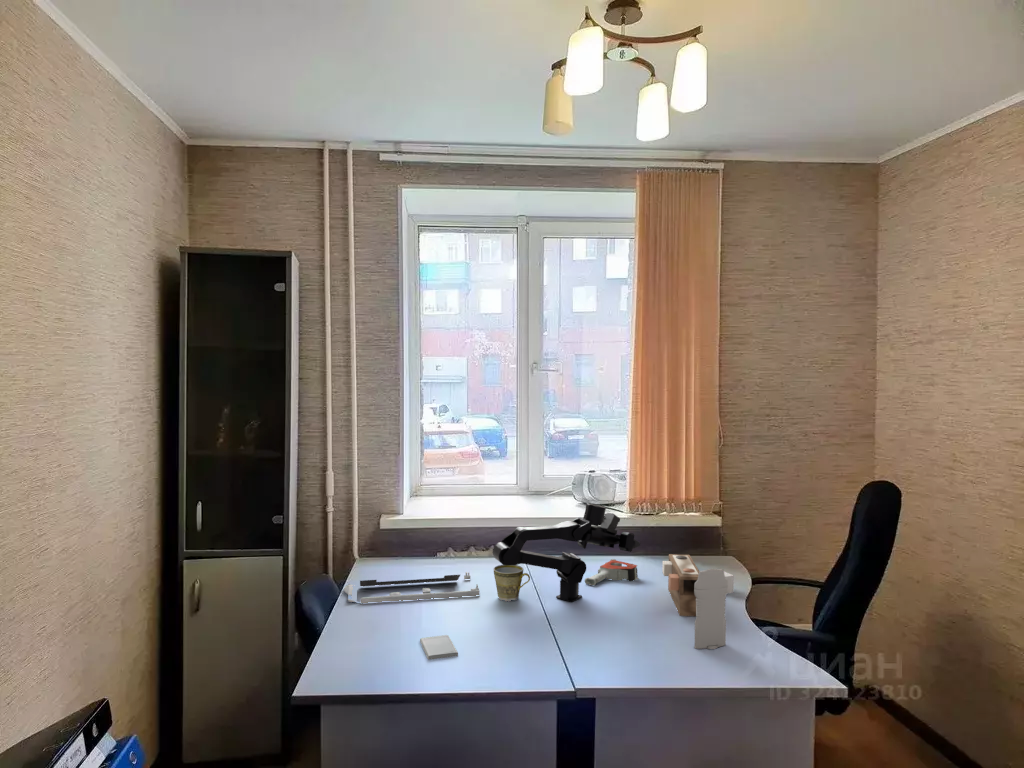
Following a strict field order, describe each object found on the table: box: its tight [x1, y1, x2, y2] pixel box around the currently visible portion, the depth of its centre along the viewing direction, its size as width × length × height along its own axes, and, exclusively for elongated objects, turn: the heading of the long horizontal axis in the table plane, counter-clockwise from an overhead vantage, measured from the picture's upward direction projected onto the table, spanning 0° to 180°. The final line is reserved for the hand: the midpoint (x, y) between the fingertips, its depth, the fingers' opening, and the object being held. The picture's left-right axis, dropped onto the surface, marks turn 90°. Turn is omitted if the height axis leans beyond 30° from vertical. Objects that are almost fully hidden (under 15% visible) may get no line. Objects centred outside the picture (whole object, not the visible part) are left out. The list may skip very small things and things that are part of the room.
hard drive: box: [419, 634, 459, 661], centre depth 189 cm, size 2×8×12 cm
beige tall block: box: [693, 568, 728, 650], centre depth 191 cm, size 11×4×22 cm, turn 106°
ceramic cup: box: [493, 564, 531, 602], centre depth 228 cm, size 13×10×10 cm
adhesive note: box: [724, 571, 735, 594], centre depth 237 cm, size 6×6×6 cm
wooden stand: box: [667, 553, 700, 617], centre depth 226 cm, size 7×24×13 cm, turn 176°
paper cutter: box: [343, 571, 481, 603], centre depth 235 cm, size 18×45×6 cm, turn 102°
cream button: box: [662, 560, 672, 577], centre depth 233 cm, size 4×4×4 cm
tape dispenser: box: [584, 558, 639, 586], centre depth 250 cm, size 18×5×20 cm
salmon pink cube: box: [669, 574, 679, 591], centre depth 219 cm, size 4×4×4 cm
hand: (630, 542), depth 241 cm, fingers open, 9 cm apart
